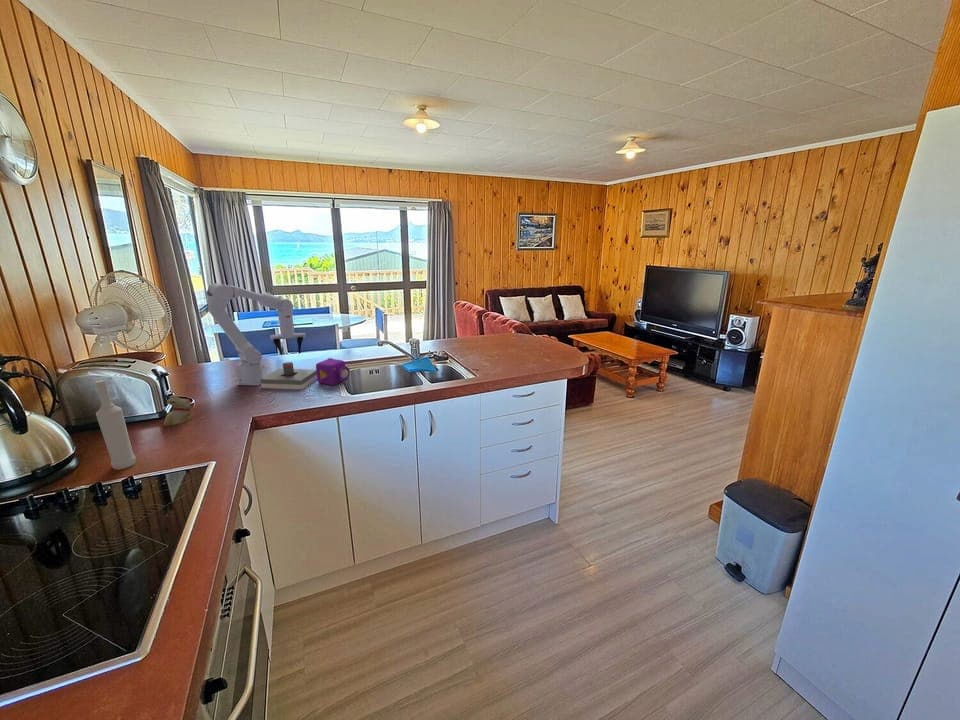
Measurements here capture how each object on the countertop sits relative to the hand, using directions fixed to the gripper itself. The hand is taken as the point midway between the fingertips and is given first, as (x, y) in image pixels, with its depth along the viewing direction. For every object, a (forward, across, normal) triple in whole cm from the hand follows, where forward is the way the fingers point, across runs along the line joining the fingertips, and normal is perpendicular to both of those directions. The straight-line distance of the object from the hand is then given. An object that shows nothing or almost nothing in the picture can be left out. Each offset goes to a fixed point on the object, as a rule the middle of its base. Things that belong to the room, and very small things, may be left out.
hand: (290, 353), depth 184 cm
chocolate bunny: (+10, -33, -43) cm, 55 cm away
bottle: (+10, -38, -71) cm, 81 cm away
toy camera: (+10, +19, -19) cm, 29 cm away
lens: (+7, 0, -14) cm, 16 cm away
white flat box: (+9, 0, -14) cm, 17 cm away
